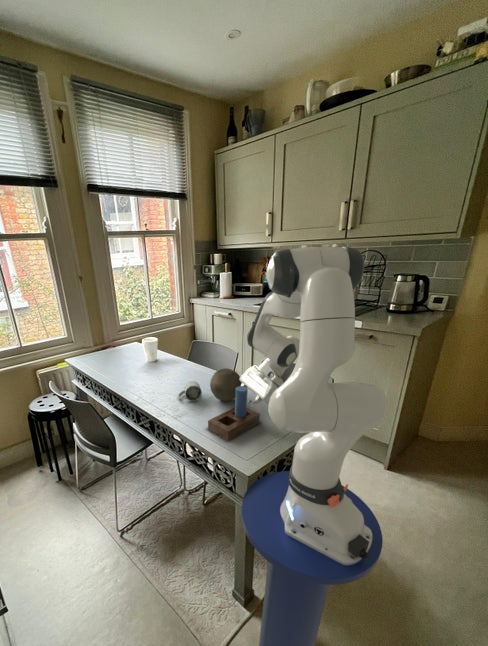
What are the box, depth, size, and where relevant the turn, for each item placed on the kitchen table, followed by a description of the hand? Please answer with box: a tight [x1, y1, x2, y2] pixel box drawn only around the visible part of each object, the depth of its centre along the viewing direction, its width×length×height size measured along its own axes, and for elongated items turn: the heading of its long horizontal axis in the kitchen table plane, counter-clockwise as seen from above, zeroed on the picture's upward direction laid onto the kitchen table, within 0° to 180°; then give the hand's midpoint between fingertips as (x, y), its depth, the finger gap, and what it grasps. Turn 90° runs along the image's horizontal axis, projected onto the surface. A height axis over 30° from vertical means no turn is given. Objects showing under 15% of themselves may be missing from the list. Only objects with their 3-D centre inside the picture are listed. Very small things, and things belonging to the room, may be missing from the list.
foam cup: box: [141, 336, 159, 363], centre depth 192 cm, size 10×9×13 cm
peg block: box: [207, 406, 261, 442], centre depth 123 cm, size 10×18×4 cm, turn 130°
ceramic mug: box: [177, 380, 203, 402], centre depth 145 cm, size 11×8×8 cm
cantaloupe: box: [209, 367, 242, 402], centre depth 140 cm, size 14×14×15 cm
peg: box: [234, 386, 249, 418], centre depth 123 cm, size 4×4×15 cm
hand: (244, 400), depth 123 cm, fingers open, 8 cm apart
